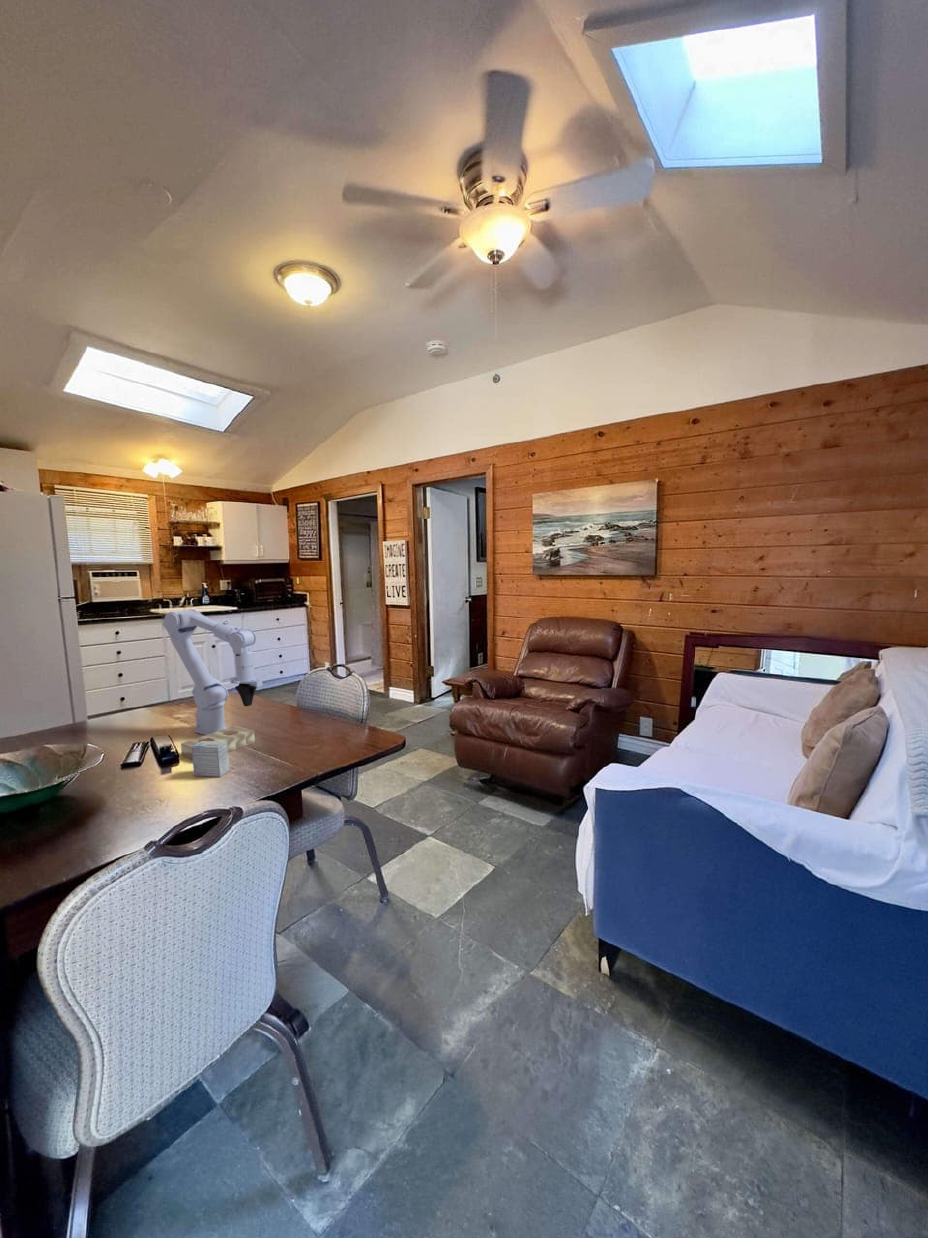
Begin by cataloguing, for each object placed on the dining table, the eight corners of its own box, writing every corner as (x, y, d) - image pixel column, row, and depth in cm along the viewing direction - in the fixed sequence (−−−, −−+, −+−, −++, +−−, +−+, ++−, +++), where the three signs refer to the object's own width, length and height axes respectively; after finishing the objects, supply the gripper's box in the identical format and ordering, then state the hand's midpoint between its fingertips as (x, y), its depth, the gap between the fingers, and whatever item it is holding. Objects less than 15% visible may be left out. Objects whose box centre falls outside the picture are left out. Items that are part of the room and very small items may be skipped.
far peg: (229, 746, 152) (228, 734, 152) (224, 744, 154) (223, 732, 153) (238, 743, 155) (237, 731, 154) (232, 741, 156) (231, 729, 156)
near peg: (205, 755, 145) (204, 742, 145) (199, 753, 147) (198, 740, 146) (214, 751, 148) (214, 739, 147) (209, 750, 149) (208, 737, 149)
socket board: (201, 762, 140) (200, 749, 140) (181, 756, 145) (180, 743, 145) (254, 742, 156) (254, 730, 155) (235, 737, 161) (234, 725, 160)
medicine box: (230, 770, 135) (227, 741, 134) (220, 777, 130) (218, 747, 129) (203, 769, 135) (201, 740, 134) (193, 776, 131) (190, 746, 130)
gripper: (220, 666, 160) (223, 705, 162) (247, 670, 153) (250, 711, 154) (239, 662, 166) (242, 700, 168) (266, 666, 159) (269, 705, 160)
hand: (247, 705), depth 162 cm, fingers closed
